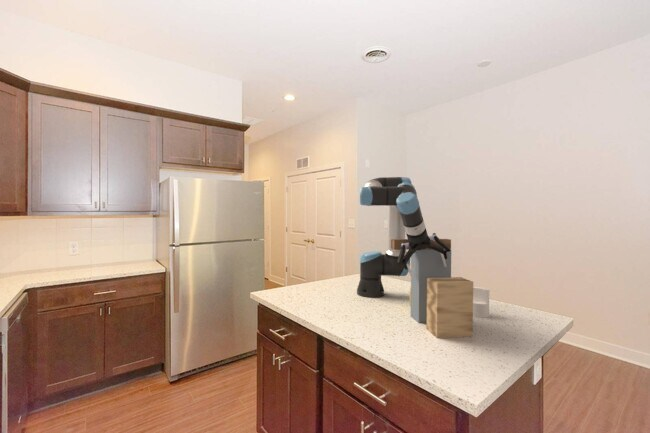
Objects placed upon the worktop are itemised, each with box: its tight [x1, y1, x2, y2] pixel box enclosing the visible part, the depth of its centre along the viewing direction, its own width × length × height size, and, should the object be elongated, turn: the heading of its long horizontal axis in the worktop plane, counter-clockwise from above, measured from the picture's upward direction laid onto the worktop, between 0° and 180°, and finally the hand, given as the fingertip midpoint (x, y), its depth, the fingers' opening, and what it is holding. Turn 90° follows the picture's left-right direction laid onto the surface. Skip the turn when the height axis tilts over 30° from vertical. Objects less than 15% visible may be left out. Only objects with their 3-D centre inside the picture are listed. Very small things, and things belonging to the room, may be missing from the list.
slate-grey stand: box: [410, 249, 452, 324], centre depth 129 cm, size 8×14×30 cm, turn 98°
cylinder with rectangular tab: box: [473, 285, 490, 319], centre depth 135 cm, size 9×9×12 cm
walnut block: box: [391, 238, 452, 251], centre depth 128 cm, size 4×25×4 cm, turn 98°
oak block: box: [426, 276, 474, 339], centre depth 114 cm, size 8×14×20 cm, turn 98°
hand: (427, 269), depth 126 cm, fingers open, 13 cm apart
